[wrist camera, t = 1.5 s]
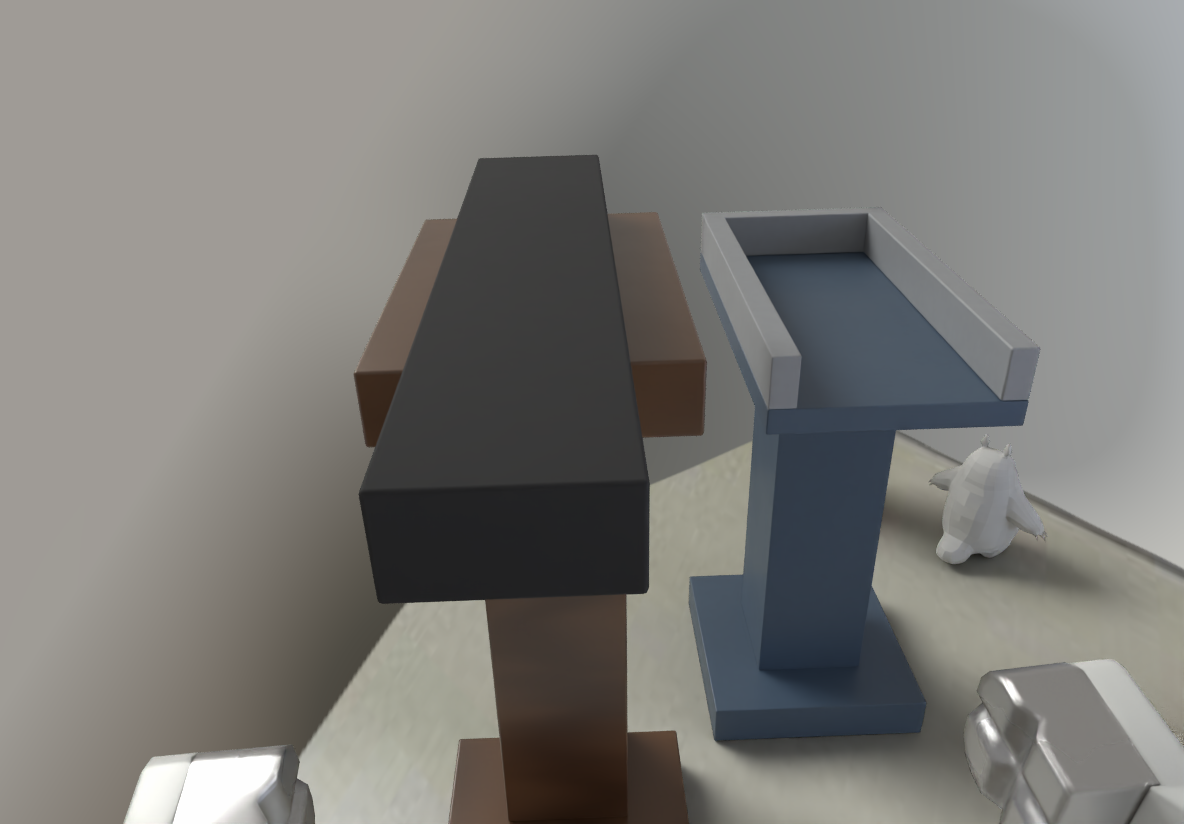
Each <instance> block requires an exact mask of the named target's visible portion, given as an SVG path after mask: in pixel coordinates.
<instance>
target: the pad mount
mask: <svg viewBox="0 0 1184 824" xmlns="http://www.w3.org/2000/svg"><path fill="white" fill-rule="evenodd" d="M700 259H701V260H700V270H701V273H702V275H703V278H704V280H705V283H706V285H707V288H708V290H709V293H710V295H711V298H712V300H713V303H714V305H715V308H716V310H717V313H718V315H719V318H720V320H721V323H722V325H723V328H724V330H725V332H726V335H727V337H728V340H729V342H730V345H731V348H732V350H733V353H734V355H735V358H736V360H737V363H738V365H739V367H740V370H741V373H742V375H743V378H744V380H745V383H746V385H747V387H748V390H749V393H750V395H751V398H752V400H753V402H754V405H755V417H754V431H753V446H752V460H751V474H750V488H749V502H748V516H747V531H746V545H745V559H744V573H743V575H719V576H693V577H690V585H689V607H690V612H691V618H692V623H693V628H694V634H695V639H696V644H697V650H698V655H699V660H700V666H701V671H702V677H703V682H704V687H705V693H706V698H707V703H708V709H709V714H710V719H711V725H712V730H713V735H714V740H715V741H719V740H743V739H768V738H793V737H817V736H842V735H867V734H891V733H916V732H920V731H921V727H922V722H923V717H924V713H925V708H926V701H925V699H924V696H923V694H922V692H921V690H920V688H919V686H918V684H917V681H916V679H915V677H914V675H913V673H912V671H911V669H910V667H909V664H908V662H907V660H906V658H905V656H904V654H903V652H902V649H901V647H900V645H899V643H898V641H897V639H896V637H895V635H894V632H893V630H892V628H891V626H890V624H889V622H888V620H887V617H886V615H885V613H884V611H883V609H882V607H881V605H880V602H879V600H878V598H877V596H876V594H875V592H874V590H873V588H872V579H873V572H874V566H875V560H876V553H877V547H878V541H879V534H880V528H881V522H882V515H883V509H884V503H885V496H886V490H887V483H888V477H889V471H890V464H891V458H892V452H893V445H894V439H895V433H896V430H911V429H939V428H967V427H995V426H1021V425H1023V423H1024V419H1025V415H1026V411H1027V406H1028V399H1029V396H1030V392H1031V387H1032V383H1033V378H1034V374H1035V370H1036V366H1037V361H1038V358H1039V353H1040V347H1039V346H1038V345H1037V344H1036V343H1035V342H1033V341H1032V340H1031V339H1030V338H1029V337H1028V336H1027V335H1026V334H1024V333H1023V332H1022V331H1021V330H1020V329H1019V328H1018V327H1016V326H1015V325H1014V324H1013V323H1012V322H1011V321H1010V320H1009V319H1007V318H1006V317H1005V316H1004V315H1003V314H1002V313H1001V312H999V311H998V310H997V309H996V308H995V307H994V306H993V305H992V304H990V303H989V302H988V301H987V300H986V299H985V298H984V297H982V296H981V295H980V294H979V293H978V292H977V291H976V290H975V289H973V288H972V287H971V286H970V285H969V284H968V283H966V281H964V280H963V279H962V278H961V277H960V276H959V275H957V274H956V273H955V272H954V271H953V270H952V269H951V268H949V266H947V265H946V264H945V263H944V262H943V261H941V259H939V258H938V257H937V256H936V255H935V254H934V253H932V251H930V250H929V249H928V248H927V247H926V246H925V245H924V244H922V243H921V242H920V241H919V240H918V239H917V238H916V237H914V236H913V235H912V234H911V233H910V232H909V231H908V230H907V229H905V228H904V227H903V226H902V225H901V224H900V223H899V222H897V221H896V220H895V219H894V218H893V217H892V216H891V215H890V214H888V212H886V211H885V210H884V209H883V208H882V207H873V208H872V207H870V208H839V209H809V210H778V211H747V212H717V213H716V212H715V213H702V230H701V258H700Z"/></svg>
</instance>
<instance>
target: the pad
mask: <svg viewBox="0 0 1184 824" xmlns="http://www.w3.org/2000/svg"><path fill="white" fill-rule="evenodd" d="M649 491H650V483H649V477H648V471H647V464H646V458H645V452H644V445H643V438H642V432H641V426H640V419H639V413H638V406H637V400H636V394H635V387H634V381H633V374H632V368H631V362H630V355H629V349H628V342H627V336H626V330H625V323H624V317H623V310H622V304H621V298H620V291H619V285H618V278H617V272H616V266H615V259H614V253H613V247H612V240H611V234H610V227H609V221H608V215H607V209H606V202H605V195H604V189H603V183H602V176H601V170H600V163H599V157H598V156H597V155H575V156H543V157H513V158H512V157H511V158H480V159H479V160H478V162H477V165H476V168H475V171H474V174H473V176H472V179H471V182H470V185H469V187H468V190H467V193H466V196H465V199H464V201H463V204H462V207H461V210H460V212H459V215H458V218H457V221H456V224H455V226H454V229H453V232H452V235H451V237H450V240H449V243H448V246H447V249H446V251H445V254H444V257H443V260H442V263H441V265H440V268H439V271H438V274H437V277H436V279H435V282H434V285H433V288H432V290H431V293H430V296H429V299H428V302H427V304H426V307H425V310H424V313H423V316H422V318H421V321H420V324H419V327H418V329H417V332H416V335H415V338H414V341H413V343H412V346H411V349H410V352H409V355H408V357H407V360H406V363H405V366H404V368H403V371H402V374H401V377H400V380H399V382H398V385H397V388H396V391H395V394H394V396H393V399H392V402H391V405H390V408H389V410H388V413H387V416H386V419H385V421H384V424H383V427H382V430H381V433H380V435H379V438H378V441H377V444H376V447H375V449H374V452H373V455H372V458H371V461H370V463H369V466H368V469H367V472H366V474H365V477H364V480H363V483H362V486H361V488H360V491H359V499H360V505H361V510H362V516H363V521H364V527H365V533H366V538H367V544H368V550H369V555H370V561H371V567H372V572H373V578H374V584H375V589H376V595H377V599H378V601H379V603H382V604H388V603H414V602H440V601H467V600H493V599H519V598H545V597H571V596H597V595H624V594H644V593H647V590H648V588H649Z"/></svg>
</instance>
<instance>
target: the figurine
mask: <svg viewBox="0 0 1184 824" xmlns="http://www.w3.org/2000/svg"><path fill="white" fill-rule="evenodd" d="M981 444H982V447H981V448H979V449H978V450H976V451H975V452H973V453H972V454H971V455H969V457H967V459H966V460H965V462H964V463H963V465H961V466H958V467H954V468H951V469H948V470H944V471H941V472H939V473H937V474H935V475H934V477H933V479H931V480H930V481H929V482H931V483H930V485H931V484H934V485H936V486H937V487H938V488H940V489H942V490H948V491H949V492H948V496H947V500H946V503H945V506H944V511H943V516H942V526H943V530H944V535H943V537H942V538H941V540H940V541H939V544H938V546H937V551H936V554H937V555H938V556H939V557H940V558H941V559H942V560H943V561H944V562H947V563H951V564H959V563H962V562H965V561H966V560H967V559H968V558H969V556H970V555H971V554H976V553H981V554H982V555H983V556H984V557H988V558H991V557H994V556H997V555H998V554H1000V553H1001V552H1003V551H1004V550H1005V549H1006V548H1007V547H1008V546H1009V545H1010V544H1011V543H1010V541H1011V540H1012V539H1013V538H1014V536H1015V535H1016V534H1017V532H1018V531H1019V529H1020V530H1022V531H1025V532H1027V533H1030V534H1033V535H1035V537H1036V539H1037V540H1038V537H1037V535H1040V536H1041V537H1042V538H1043V539H1044V541H1045V537H1044V535H1043V534H1045V535H1046V536H1047V534H1046V532H1045V531H1044V527H1043V523H1042V521H1041V519H1040V517H1039V515H1038V514H1037V512H1036V511H1035V509H1034V508H1033V507H1032V505H1031V504H1030V502H1029V501H1028V499H1027V498H1026V497H1025V495H1024V492H1023V489H1022V486H1021V483H1020V480H1019V475H1018V472H1017V469H1016V464H1015V461H1014V459H1013V458H1012V457H1011V455H1010V454H1011V453H1012V448H1011V444H1010V443H1009V444H1008V445H1007V446H1006V447H1005V448H1004V451H1001V450H997V449H993V448H990V447H988V445H989V437H988V434H986V435H985V436H984V437H983V438H982V440H981ZM930 485H929V486H930Z"/></svg>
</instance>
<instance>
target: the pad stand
mask: <svg viewBox="0 0 1184 824" xmlns="http://www.w3.org/2000/svg"><path fill="white" fill-rule="evenodd" d="M607 215H608V221H609V227H610V234H611V240H612V247H613V253H614V259H615V266H616V272H617V278H618V285H619V291H620V298H621V304H622V310H623V317H624V323H625V330H626V336H627V342H628V349H629V355H630V362H631V368H632V374H633V381H634V387H635V394H636V400H637V406H638V413H639V419H640V426H641V432H642V438H644V437H671V436H699V435H700V436H701V435H703V433H704V420H705V396H706V370H707V361H706V358H705V355H704V352H703V349H702V346H701V343H700V340H699V337H698V334H697V331H696V328H695V325H694V322H693V319H692V316H691V313H690V310H689V307H688V304H687V301H686V297H685V295H684V291H683V289H682V285H681V282H680V279H679V276H678V273H677V270H676V267H675V264H674V261H673V258H672V255H671V252H670V249H669V246H668V243H667V240H666V237H665V234H664V231H663V228H662V225H661V222H660V219H659V216H658V213H656V212H652V213H651V212H649V213H621V214H620V213H618V214H607ZM456 221H457V219H437V220H436V219H433V220H425V221H424V224H423V226H422V228H421V230H420V232H419V234H418V236H417V239H416V241H415V243H414V245H413V247H412V249H411V252H410V253H409V256H408V258H407V260H406V262H405V264H404V266H403V269H402V271H401V273H400V275H399V277H398V279H397V281H396V283H395V286H394V288H393V290H392V292H391V294H390V296H389V299H388V301H387V303H386V305H385V307H384V309H383V312H382V314H381V316H380V318H379V320H378V322H377V324H376V326H375V329H374V331H373V333H372V335H371V337H370V339H369V341H368V344H367V346H366V348H365V350H364V352H363V354H362V356H361V358H360V361H359V363H358V365H357V367H356V369H355V371H354V380H355V386H356V392H357V397H358V404H359V410H360V415H361V421H362V427H363V433H364V439H365V444H366V446H367V447H376V444H377V441H378V438H379V435H380V433H381V430H382V427H383V424H384V421H385V419H386V416H387V413H388V410H389V408H390V405H391V402H392V399H393V396H394V394H395V391H396V388H397V385H398V382H399V380H400V377H401V374H402V371H403V368H404V366H405V363H406V360H407V357H408V355H409V352H410V349H411V346H412V343H413V341H414V338H415V335H416V332H417V329H418V327H419V324H420V321H421V318H422V316H423V313H424V310H425V307H426V304H427V302H428V299H429V296H430V293H431V290H432V288H433V285H434V282H435V279H436V277H437V274H438V271H439V268H440V265H441V263H442V260H443V257H444V254H445V251H446V249H447V246H448V243H449V240H450V237H451V235H452V232H453V229H454V226H455V224H456ZM485 602H486V612H487V621H488V631H489V640H490V650H491V660H492V669H493V679H494V688H495V698H496V708H497V717H498V727H499V736H500V738H481V739H460V740H459V744H458V752H457V760H456V768H455V776H454V784H453V792H452V800H451V807H450V815H449V823H448V824H689V819H688V812H687V805H686V798H685V791H684V784H683V777H682V770H681V763H680V756H679V749H678V741H677V734H676V731H654V732H629V733H627V617H626V594H624V595H597V596H571V597H545V598H519V599H493V600H485Z"/></svg>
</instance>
